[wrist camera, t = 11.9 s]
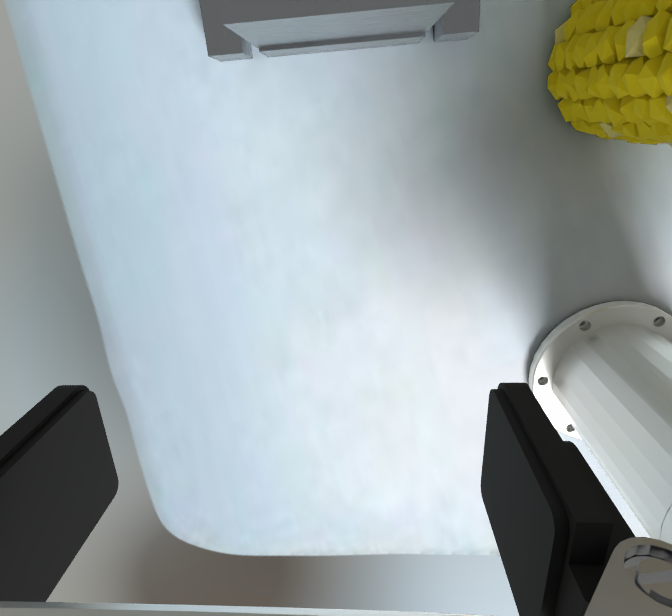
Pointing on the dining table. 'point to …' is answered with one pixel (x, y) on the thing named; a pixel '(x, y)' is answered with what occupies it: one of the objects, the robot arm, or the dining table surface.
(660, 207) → the dining table surface
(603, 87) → the food
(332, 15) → the scale
